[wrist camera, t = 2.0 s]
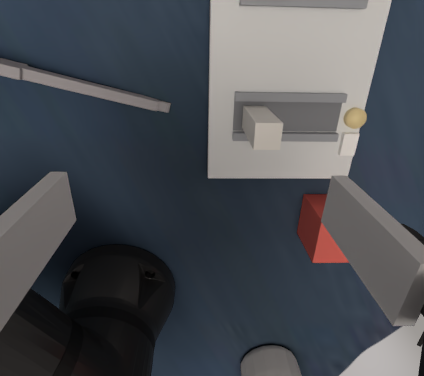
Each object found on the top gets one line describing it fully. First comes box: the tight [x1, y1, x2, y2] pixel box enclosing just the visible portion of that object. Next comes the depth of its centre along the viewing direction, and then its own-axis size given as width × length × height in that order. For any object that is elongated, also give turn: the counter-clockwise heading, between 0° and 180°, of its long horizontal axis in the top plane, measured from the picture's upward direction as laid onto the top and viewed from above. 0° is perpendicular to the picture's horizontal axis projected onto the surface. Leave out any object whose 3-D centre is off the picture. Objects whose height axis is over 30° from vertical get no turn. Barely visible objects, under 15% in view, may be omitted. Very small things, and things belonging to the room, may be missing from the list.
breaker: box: [242, 106, 283, 150], centre depth 27 cm, size 2×2×7 cm
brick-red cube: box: [297, 194, 349, 263], centre depth 35 cm, size 6×6×6 cm
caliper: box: [0, 58, 171, 113], centre depth 27 cm, size 20×1×6 cm, turn 74°
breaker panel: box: [207, 0, 392, 178], centre depth 28 cm, size 16×26×3 cm, turn 179°
